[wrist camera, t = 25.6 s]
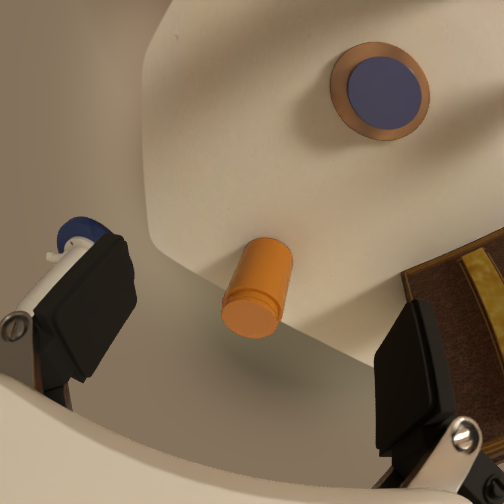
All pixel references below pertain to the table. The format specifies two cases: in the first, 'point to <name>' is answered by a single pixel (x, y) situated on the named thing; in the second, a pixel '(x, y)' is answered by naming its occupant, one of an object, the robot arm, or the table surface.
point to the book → (470, 328)
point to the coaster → (341, 99)
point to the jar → (258, 289)
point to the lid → (384, 92)
